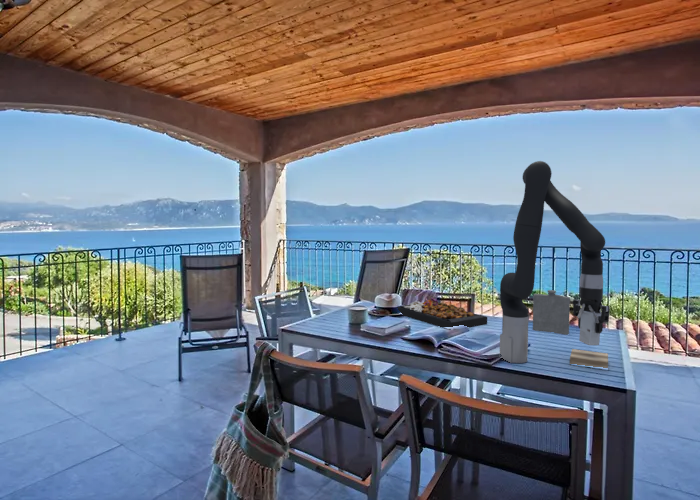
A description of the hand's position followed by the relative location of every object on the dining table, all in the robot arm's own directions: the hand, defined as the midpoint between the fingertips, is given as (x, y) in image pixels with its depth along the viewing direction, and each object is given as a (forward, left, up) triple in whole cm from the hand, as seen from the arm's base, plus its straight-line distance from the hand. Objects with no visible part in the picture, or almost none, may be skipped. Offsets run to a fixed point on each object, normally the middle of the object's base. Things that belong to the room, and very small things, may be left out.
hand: (589, 330), depth 159 cm
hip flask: (+22, +41, -13) cm, 48 cm away
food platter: (-13, +83, -13) cm, 86 cm away
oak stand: (0, 0, -12) cm, 12 cm away
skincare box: (0, 0, -5) cm, 5 cm away
